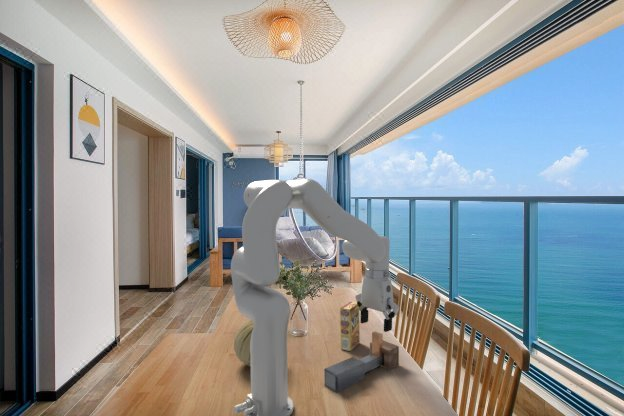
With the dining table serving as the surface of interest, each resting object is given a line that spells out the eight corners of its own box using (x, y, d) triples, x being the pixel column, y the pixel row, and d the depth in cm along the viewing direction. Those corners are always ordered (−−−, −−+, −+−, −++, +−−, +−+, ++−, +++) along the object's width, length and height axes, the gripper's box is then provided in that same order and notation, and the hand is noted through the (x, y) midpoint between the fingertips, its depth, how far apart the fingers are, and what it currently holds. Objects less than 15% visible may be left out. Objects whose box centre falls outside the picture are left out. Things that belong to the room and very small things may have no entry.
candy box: (350, 351, 129) (350, 309, 129) (339, 349, 131) (339, 307, 131) (360, 342, 137) (359, 302, 137) (349, 340, 139) (349, 301, 139)
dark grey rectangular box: (336, 392, 103) (336, 375, 102) (324, 385, 106) (324, 368, 106) (364, 378, 110) (364, 362, 110) (352, 372, 114) (352, 356, 114)
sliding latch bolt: (355, 377, 109) (355, 344, 109) (348, 373, 111) (348, 341, 111) (388, 361, 119) (388, 331, 119) (381, 358, 122) (381, 329, 121)
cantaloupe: (231, 358, 124) (230, 315, 124) (273, 352, 130) (272, 310, 129) (238, 379, 110) (237, 330, 110) (284, 370, 116) (284, 324, 115)
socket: (389, 369, 116) (389, 350, 115) (369, 361, 122) (369, 342, 122) (398, 365, 119) (398, 346, 119) (379, 356, 125) (379, 339, 125)
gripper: (406, 277, 113) (405, 331, 113) (364, 268, 126) (363, 317, 126) (391, 280, 108) (390, 337, 108) (349, 270, 121) (348, 321, 121)
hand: (375, 326), depth 117 cm, fingers open, 9 cm apart
